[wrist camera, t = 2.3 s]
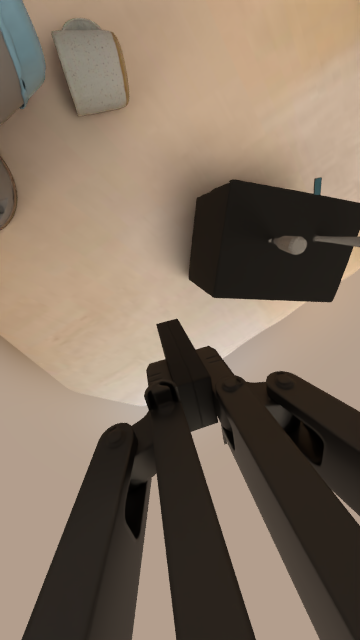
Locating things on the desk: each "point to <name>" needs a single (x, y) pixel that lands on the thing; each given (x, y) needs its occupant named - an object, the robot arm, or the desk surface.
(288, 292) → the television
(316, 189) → the tape line
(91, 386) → the desk surface
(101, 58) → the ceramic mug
